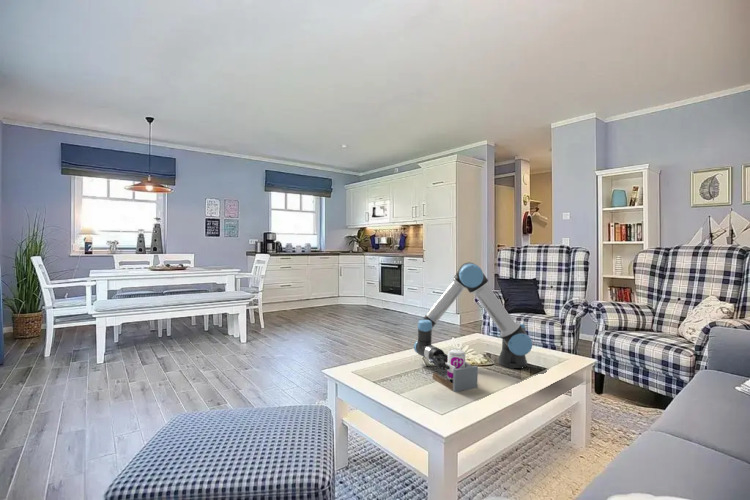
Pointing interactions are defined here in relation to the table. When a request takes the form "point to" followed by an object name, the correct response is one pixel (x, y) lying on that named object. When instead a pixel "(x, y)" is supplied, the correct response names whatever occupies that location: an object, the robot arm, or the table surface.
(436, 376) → the channel
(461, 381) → the block
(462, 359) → the supplement can
